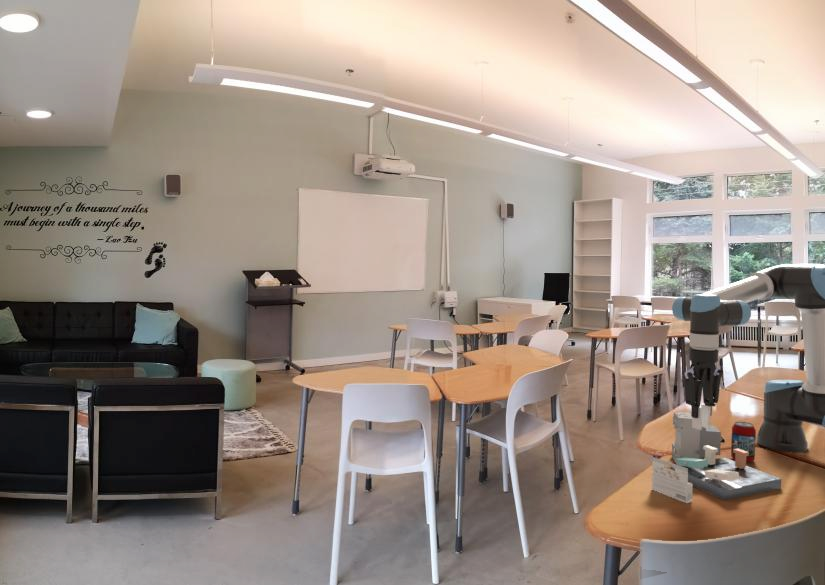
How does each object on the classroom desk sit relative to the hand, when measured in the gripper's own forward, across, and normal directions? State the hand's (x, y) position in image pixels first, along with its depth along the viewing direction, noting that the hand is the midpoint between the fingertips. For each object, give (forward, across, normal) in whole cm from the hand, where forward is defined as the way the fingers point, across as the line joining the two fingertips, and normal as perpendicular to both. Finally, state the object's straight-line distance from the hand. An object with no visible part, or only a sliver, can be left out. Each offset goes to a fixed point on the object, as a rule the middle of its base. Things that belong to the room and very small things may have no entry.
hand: (701, 427), depth 170 cm
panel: (+17, -8, +2) cm, 18 cm away
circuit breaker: (+17, -14, -14) cm, 26 cm away
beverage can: (+17, -30, -10) cm, 35 cm away
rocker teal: (+11, 0, -3) cm, 12 cm away
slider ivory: (+13, -8, -4) cm, 16 cm away
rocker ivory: (+11, 0, +8) cm, 14 cm away
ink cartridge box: (+17, +14, +4) cm, 23 cm away
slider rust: (+13, -14, +2) cm, 20 cm away
